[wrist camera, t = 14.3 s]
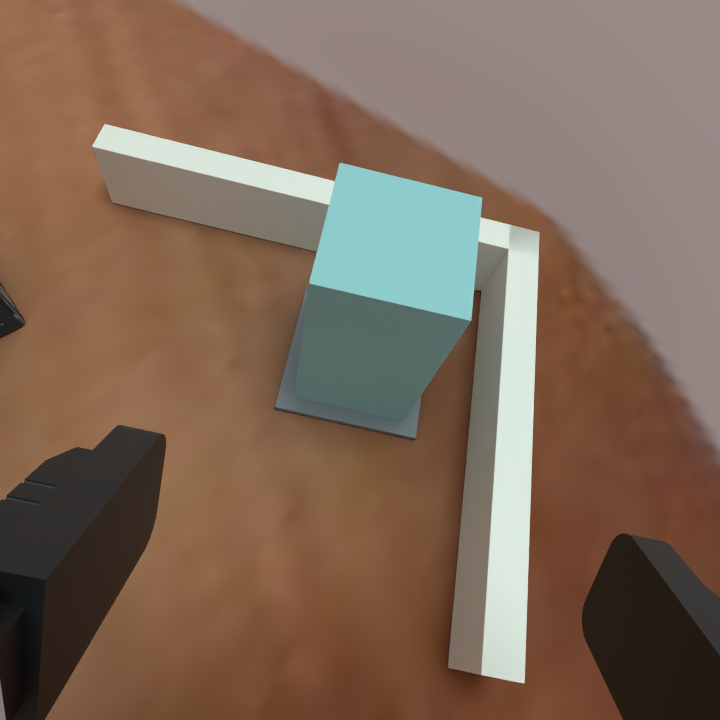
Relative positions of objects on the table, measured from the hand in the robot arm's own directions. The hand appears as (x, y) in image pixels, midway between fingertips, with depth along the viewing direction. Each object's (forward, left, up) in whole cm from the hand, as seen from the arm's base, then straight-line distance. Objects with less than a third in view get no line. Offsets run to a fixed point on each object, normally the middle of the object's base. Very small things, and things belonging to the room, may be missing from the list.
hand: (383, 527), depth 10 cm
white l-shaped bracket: (-4, +8, -16) cm, 18 cm away
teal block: (0, +11, -15) cm, 19 cm away
